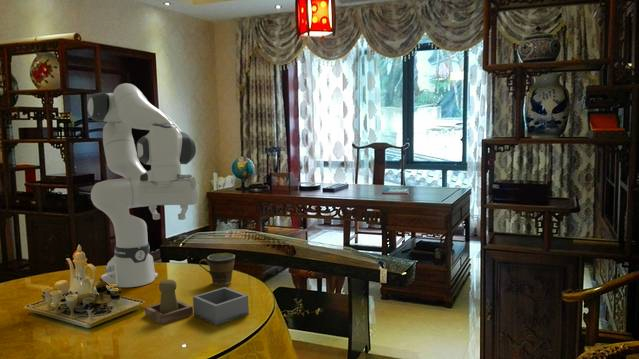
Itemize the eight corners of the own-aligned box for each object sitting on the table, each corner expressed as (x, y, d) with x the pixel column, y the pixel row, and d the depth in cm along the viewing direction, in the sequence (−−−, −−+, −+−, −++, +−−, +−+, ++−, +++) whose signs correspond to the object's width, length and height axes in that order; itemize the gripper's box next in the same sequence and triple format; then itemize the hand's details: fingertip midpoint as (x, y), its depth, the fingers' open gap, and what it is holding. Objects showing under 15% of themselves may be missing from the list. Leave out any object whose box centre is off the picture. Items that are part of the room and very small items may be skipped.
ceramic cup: (235, 277, 196) (234, 252, 195) (236, 286, 186) (235, 259, 185) (200, 280, 194) (199, 254, 192) (199, 288, 184) (198, 261, 183)
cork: (173, 319, 157) (171, 284, 155) (155, 318, 158) (153, 283, 157) (182, 311, 163) (181, 278, 161) (165, 310, 164) (163, 277, 162)
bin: (193, 315, 160) (192, 296, 159) (225, 304, 168) (225, 286, 168) (216, 325, 151) (215, 306, 151) (248, 314, 160) (248, 295, 159)
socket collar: (145, 315, 160) (145, 307, 160) (175, 306, 168) (175, 298, 167) (162, 324, 153) (162, 316, 153) (192, 314, 160) (192, 306, 160)
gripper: (200, 173, 159) (203, 218, 160) (146, 175, 166) (149, 218, 167) (188, 174, 153) (191, 221, 154) (133, 176, 160) (135, 220, 161)
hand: (169, 219), depth 160 cm, fingers open, 8 cm apart
